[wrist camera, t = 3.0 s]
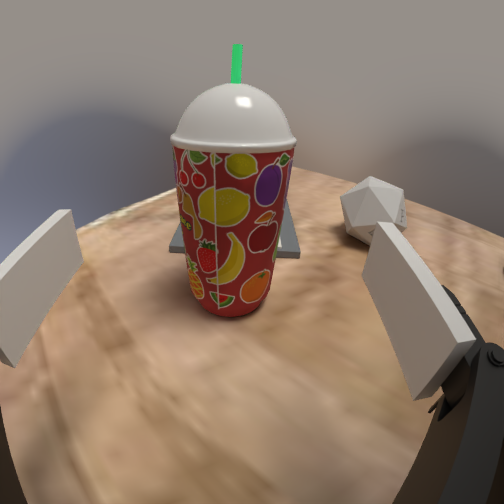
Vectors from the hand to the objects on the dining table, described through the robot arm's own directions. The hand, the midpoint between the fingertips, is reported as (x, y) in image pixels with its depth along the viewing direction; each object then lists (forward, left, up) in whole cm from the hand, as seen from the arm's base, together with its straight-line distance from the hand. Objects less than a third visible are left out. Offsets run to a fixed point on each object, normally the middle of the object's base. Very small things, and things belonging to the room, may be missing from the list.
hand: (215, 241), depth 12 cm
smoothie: (0, -10, -11) cm, 15 cm away
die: (-17, -22, -11) cm, 30 cm away
